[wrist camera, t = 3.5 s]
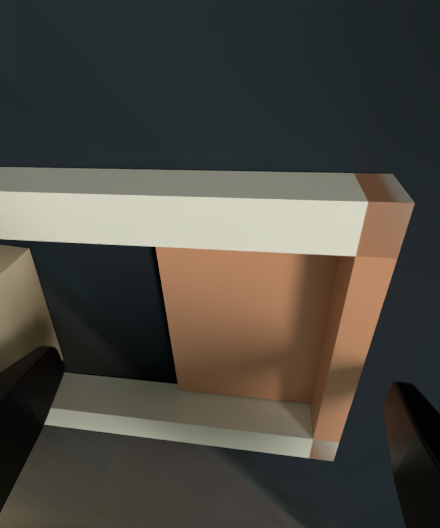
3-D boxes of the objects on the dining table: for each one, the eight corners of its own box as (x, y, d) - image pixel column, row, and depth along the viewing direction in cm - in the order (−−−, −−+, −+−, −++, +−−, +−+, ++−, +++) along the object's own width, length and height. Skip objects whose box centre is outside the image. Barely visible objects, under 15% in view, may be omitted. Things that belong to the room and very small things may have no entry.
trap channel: (327, 419, 13) (333, 460, 11) (-72, 375, 15) (-103, 405, 14) (392, 174, 7) (414, 203, 6) (-243, 162, 10) (-319, 182, 8)
